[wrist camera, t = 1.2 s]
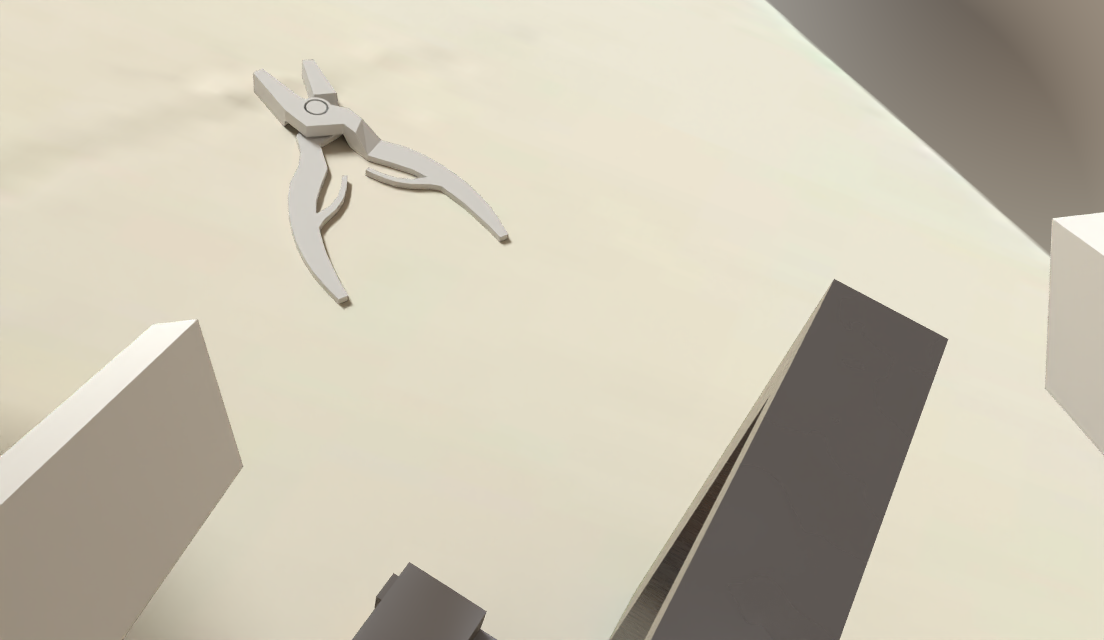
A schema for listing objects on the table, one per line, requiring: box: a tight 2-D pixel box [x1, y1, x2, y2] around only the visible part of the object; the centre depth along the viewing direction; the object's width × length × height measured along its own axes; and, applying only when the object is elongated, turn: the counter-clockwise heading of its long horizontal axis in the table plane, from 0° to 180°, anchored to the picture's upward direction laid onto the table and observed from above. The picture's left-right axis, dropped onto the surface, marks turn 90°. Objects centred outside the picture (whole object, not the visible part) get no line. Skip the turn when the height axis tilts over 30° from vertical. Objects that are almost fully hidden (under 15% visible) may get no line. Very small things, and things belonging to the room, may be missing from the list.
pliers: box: [253, 59, 508, 304], centre depth 50 cm, size 10×2×15 cm
